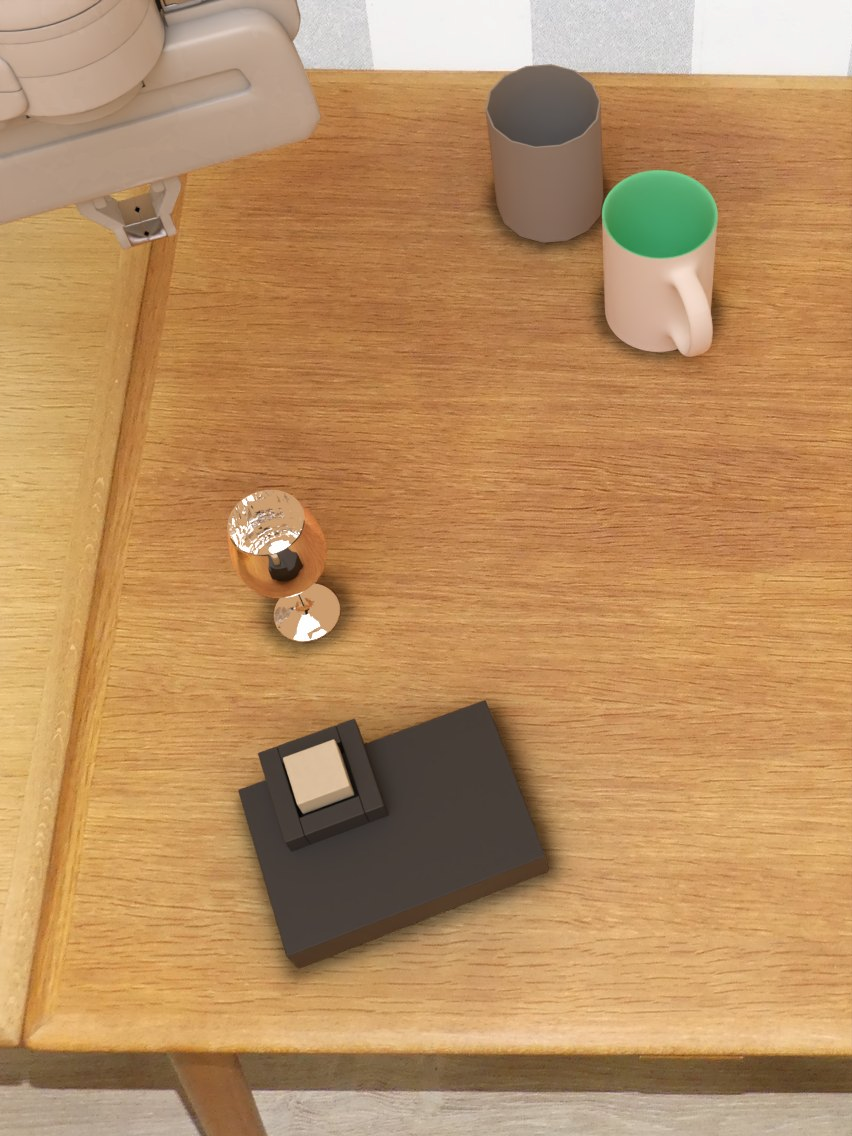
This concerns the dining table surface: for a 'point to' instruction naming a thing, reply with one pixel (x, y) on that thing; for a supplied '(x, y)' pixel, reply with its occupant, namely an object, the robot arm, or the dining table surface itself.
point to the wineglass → (283, 562)
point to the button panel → (391, 832)
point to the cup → (546, 152)
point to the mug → (660, 262)
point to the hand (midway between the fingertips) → (148, 233)
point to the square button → (318, 776)
